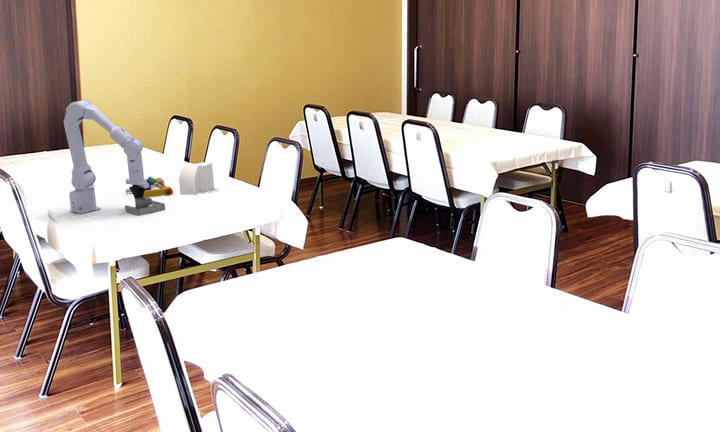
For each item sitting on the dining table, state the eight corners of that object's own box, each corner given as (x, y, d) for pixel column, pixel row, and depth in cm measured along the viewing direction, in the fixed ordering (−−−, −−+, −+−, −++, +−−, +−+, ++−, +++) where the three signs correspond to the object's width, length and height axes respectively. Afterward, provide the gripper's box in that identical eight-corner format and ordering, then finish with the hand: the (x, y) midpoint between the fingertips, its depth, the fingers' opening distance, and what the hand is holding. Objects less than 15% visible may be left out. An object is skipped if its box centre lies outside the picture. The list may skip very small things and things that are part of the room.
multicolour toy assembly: (160, 170, 363) (172, 181, 336) (161, 183, 365) (174, 196, 338) (119, 174, 356) (129, 187, 329) (121, 188, 358) (130, 201, 331)
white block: (214, 189, 346) (212, 162, 343) (202, 195, 336) (200, 167, 333) (192, 188, 349) (190, 162, 346) (180, 194, 339) (177, 167, 336)
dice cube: (140, 213, 308) (139, 200, 307) (136, 210, 312) (134, 198, 311) (152, 210, 311) (151, 198, 310) (148, 208, 315) (146, 196, 314)
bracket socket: (139, 215, 304) (138, 208, 303) (125, 211, 311) (124, 204, 310) (166, 209, 312) (165, 202, 311) (151, 205, 319) (151, 198, 318)
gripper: (154, 170, 308) (157, 204, 312) (135, 166, 318) (138, 198, 322) (138, 173, 303) (142, 207, 307) (119, 169, 313) (123, 202, 317)
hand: (139, 203), depth 314 cm, fingers closed
